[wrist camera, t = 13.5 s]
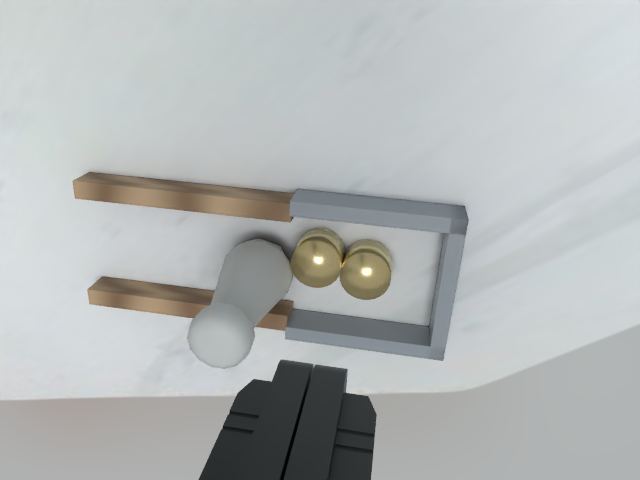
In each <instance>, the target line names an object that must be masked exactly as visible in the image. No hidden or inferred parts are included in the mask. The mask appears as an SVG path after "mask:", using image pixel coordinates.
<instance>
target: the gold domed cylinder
mask: <svg viewBox="0 0 640 480" xmlns="http://www.w3.org/2000/svg"><path fill="white" fill-rule="evenodd" d="M391 269H392V257H391V254H390V252H389V250H388V249H387V248H386V247H385V246H384V245H383V244H381V243H380V242H378V241H375V240H370V239H365V240H359V241H357V242H355V243H353V244H352V245H351V246H350V247H349V248H348V249H347V251H346V253H345V256H344V260H343V263H342V267H341V271H340V281H341V284H342V286H343V288H344V289H345V291H346V292H347V293H349V294H350V295H351V296H353V297H355V298H358V299H363V300H370V299H375V298H377V297H379V296H381V295H382V294H384V293H385V292H386V290H387V289H388V287H389V285H390V281H391Z"/></svg>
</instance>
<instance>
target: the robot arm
mask: <svg viewBox="0 0 640 480" xmlns="http://www.w3.org/2000/svg"><path fill="white" fill-rule="evenodd" d="M346 383H347V369H343V368H336V367H329V366H322V365H315V366H314V367H313V364H309V363H302V362H295V361H288V360H280V362H279V364H278V367H277V370H276V372H275V375H274V378H273V380H272V382H270V381H263V380H256V379H253V380H252V381H251V382H250V383H249V384H248V385H247V386H245V387H244V388H243V389H242V390H241V391H240V392H239V393H238V394H237V396H236V398H235V400H234V403H233V405H232V407H231V409H230V413H229V415H228V416H227V418H226V421H225V423H224V425H223V429H222V430H221V432H220V434H219V436H218V438H217V440H216V443H215V445H214V447H213V449H212V451H211V454H210V456H209V458H208V460H207V463H206V465H205V467H204V469H203V471H202V474H201V476H200V478H199V480H371V471H372V460H373V448H374V436H375V426H376V412H375V410H374V408H373V406H372V404H371V401H370V399H369V397H368V396H363V395H356V394H349V393H346Z"/></svg>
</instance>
